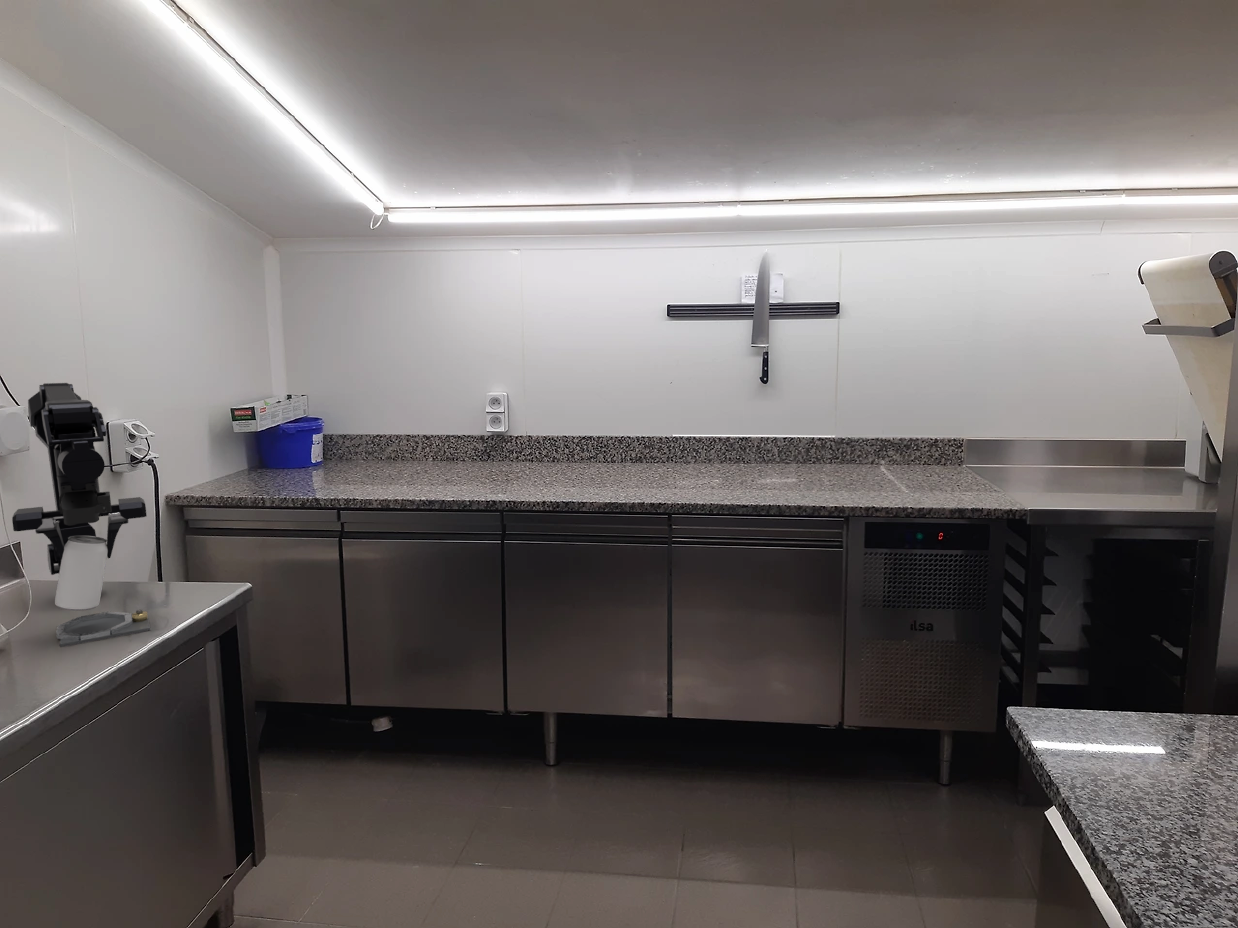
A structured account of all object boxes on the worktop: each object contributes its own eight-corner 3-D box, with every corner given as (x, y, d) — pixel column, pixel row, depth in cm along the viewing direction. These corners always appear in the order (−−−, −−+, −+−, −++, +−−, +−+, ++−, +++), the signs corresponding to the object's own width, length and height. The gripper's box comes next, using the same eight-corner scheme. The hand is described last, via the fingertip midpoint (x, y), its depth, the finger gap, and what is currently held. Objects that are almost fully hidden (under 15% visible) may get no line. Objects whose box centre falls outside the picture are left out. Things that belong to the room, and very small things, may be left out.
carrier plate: (61, 628, 134) (61, 625, 134) (146, 613, 142) (146, 610, 142) (60, 647, 126) (59, 644, 126) (150, 630, 134) (149, 627, 134)
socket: (58, 624, 135) (57, 620, 135) (130, 611, 141) (130, 607, 141) (56, 644, 126) (55, 640, 126) (133, 630, 132) (132, 626, 132)
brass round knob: (132, 618, 138) (131, 609, 137) (147, 616, 139) (146, 607, 139) (132, 622, 136) (131, 613, 135) (148, 620, 137) (147, 610, 137)
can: (72, 613, 127) (83, 544, 127) (44, 604, 129) (55, 536, 129) (107, 606, 134) (118, 541, 133) (80, 598, 135) (91, 533, 135)
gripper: (3, 487, 117) (16, 582, 120) (143, 476, 128) (152, 563, 130) (10, 476, 126) (21, 565, 129) (140, 466, 137) (148, 548, 139)
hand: (87, 560), depth 132 cm, fingers closed on can, 6 cm apart
